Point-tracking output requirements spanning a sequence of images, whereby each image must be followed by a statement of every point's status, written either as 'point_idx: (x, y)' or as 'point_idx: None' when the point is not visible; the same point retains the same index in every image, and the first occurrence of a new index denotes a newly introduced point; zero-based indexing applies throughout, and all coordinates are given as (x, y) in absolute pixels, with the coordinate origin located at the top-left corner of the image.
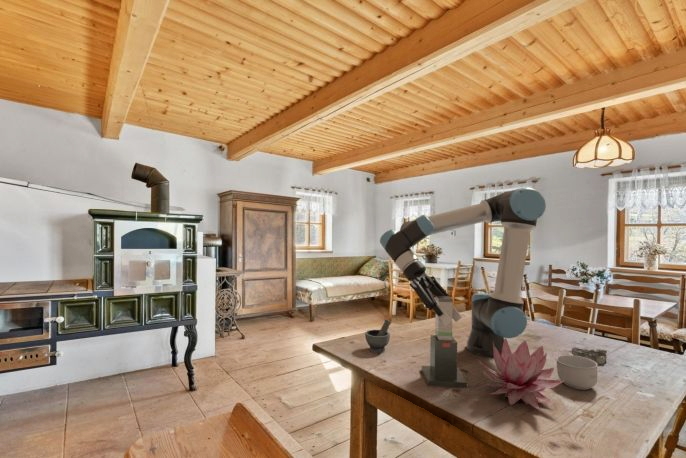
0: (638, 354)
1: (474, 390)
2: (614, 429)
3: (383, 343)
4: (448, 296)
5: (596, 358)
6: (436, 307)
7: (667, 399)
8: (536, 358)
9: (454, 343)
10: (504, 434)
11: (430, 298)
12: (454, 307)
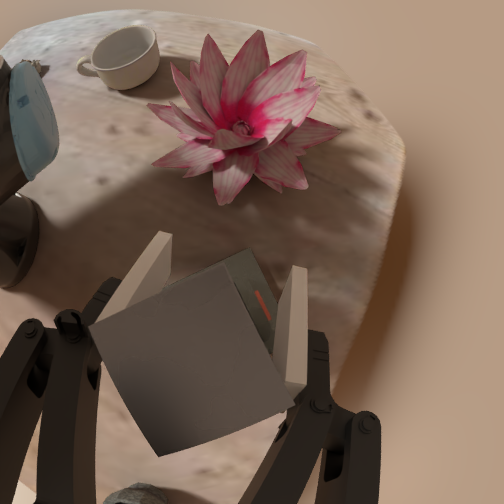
0: (12, 53)
1: (256, 231)
2: (275, 50)
3: (154, 498)
4: (99, 333)
5: (36, 68)
6: (329, 383)
7: (146, 13)
8: (207, 66)
9: (245, 274)
10: (390, 171)
11: (308, 468)
12: (126, 278)
